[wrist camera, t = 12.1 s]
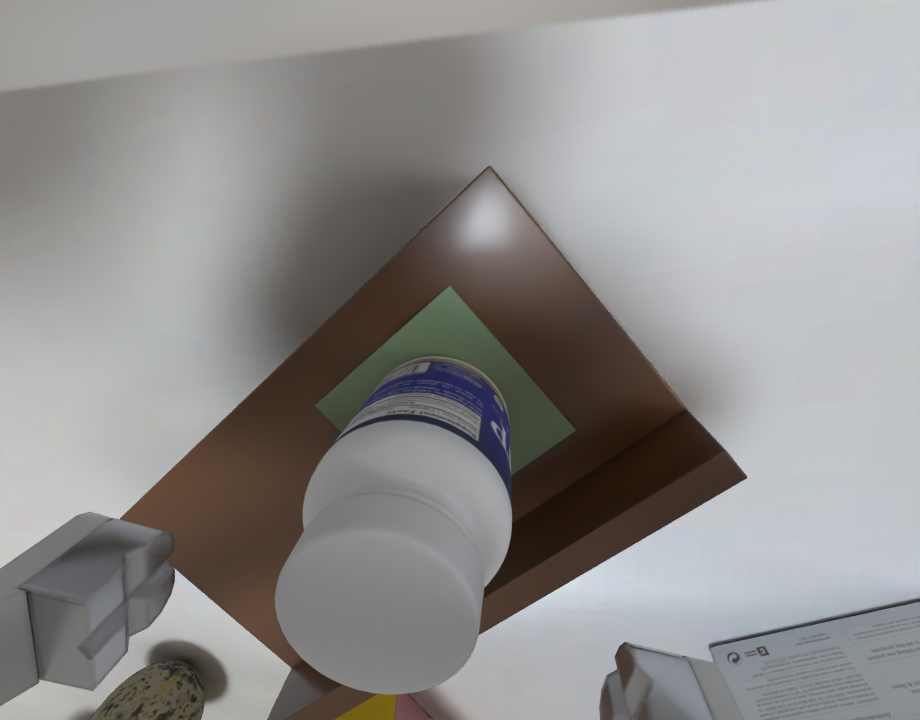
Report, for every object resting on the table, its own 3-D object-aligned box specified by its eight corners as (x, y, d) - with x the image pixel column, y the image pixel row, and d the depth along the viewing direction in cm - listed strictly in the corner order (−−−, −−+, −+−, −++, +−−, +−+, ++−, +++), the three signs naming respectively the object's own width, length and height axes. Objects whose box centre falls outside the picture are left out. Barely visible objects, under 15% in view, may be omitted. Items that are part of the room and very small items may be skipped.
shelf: (202, 453, 26) (53, 570, 17) (494, 179, 20) (485, 151, 11) (349, 588, 28) (279, 752, 19) (654, 375, 22) (748, 478, 13)
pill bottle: (499, 489, 18) (492, 743, 9) (368, 469, 18) (244, 696, 9) (520, 362, 16) (536, 528, 7) (375, 342, 16) (232, 480, 8)
